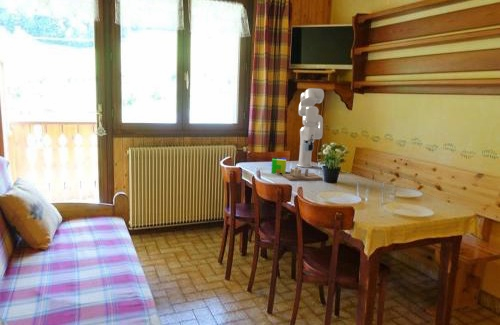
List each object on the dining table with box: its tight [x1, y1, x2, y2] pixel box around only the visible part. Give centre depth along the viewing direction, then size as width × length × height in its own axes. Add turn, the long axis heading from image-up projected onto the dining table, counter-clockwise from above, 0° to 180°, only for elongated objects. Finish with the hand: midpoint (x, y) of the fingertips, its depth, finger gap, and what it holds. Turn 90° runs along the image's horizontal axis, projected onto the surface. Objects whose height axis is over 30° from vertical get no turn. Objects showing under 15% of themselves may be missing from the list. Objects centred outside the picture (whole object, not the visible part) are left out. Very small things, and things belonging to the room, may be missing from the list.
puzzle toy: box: [271, 156, 287, 175], centre depth 285 cm, size 10×10×10 cm
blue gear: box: [303, 143, 315, 152], centre depth 278 cm, size 7×7×5 cm
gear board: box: [281, 166, 323, 182], centre depth 271 cm, size 14×24×8 cm, turn 105°
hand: (308, 149), depth 278 cm, fingers closed on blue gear, 6 cm apart
